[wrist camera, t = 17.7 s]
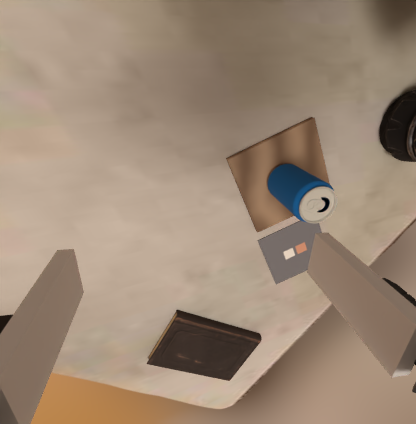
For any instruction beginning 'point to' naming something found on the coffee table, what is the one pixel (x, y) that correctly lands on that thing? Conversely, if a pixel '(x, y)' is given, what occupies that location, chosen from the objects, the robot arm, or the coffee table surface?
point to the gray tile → (289, 249)
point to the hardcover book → (203, 346)
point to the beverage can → (302, 193)
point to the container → (400, 128)
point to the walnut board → (269, 160)
